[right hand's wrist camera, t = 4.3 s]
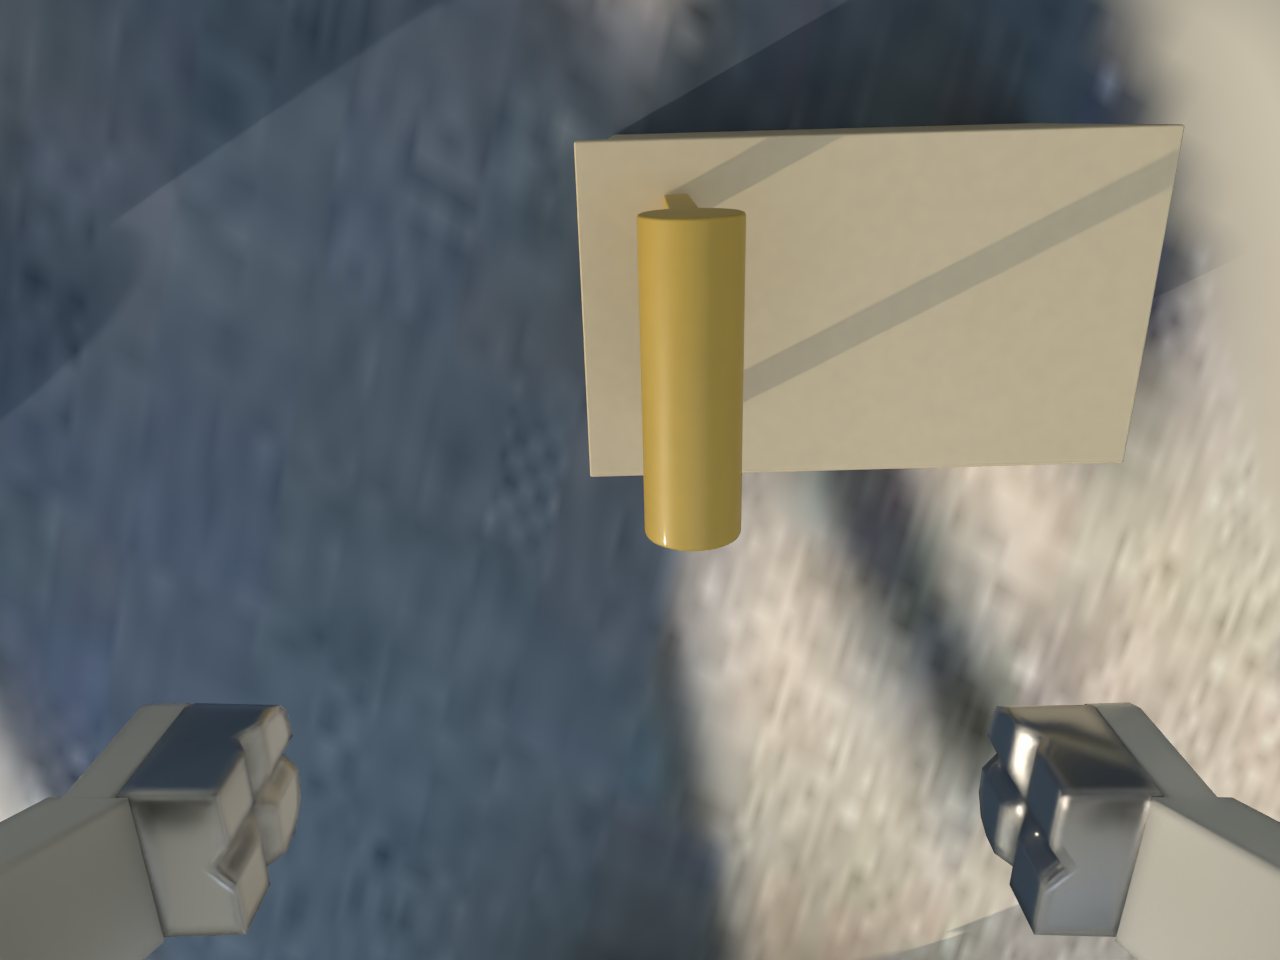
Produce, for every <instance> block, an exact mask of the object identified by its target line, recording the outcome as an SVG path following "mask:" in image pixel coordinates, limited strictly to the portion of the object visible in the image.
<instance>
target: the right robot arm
mask: <svg viewBox="0 0 1280 960" xmlns="http://www.w3.org/2000/svg"><path fill="white" fill-rule="evenodd" d="M291 738H292V732H291V727H290V722H289V718H288V713H287V711H286V710H285V709H283V708H282V707H281V706H280V705H254V704H207V703H195V704H190V703H151V704H148V705H146V706H143V707H140V708H139V709H138V710H137V712H136V713H135V714H134V715H133V716H132V717H131V719H130V720H129V721H128V722H127V723H126V724H125V726H124V727H123V728H122V729H121V730H120V731H119V732H118V734H117V735H116V736H115V737H114V738H113V739H112V741H111V742H110V743H109V744H108V745H107V746H106V748H105V749H104V750H103V751H102V752H101V753H100V755H99V756H98V757H97V758H96V759H95V760H94V761H93V763H92V764H91V765H90V766H89V767H88V768H87V770H86V771H85V772H84V773H83V774H82V775H81V777H80V778H79V779H78V780H77V781H76V782H75V784H74V785H73V786H72V787H71V788H70V789H69V790H68V792H67V793H66V794H65V795H64V796H63V797H60V798H46V799H44V800H42V801H41V802H39V803H37V804H35V805H33V806H31V807H29V808H27V809H25V810H23V811H21V812H19V813H17V814H15V815H13V816H12V817H10V818H8V819H6V820H4V821H2V822H0V960H143V959H144V958H145V957H147V956H148V955H149V954H150V953H151V952H152V951H154V950H155V949H156V948H157V947H158V946H159V945H161V944H162V943H163V942H164V937H172V936H206V935H241V934H246V933H247V931H248V929H249V927H250V925H251V923H252V921H253V919H254V917H255V915H256V913H257V911H258V909H259V907H260V905H261V903H262V901H263V898H264V896H265V894H266V892H267V890H268V888H269V886H270V880H269V874H268V869H267V866H268V865H270V864H271V863H272V862H274V861H275V860H277V859H278V858H279V857H281V856H282V855H283V854H285V853H286V851H287V849H288V847H289V844H290V842H291V840H292V838H293V836H294V834H295V830H296V825H297V821H298V816H299V811H300V804H301V785H300V779H299V772H298V768H297V767H296V766H295V765H294V764H293V763H292V762H291V761H290V760H289V759H288V758H287V757H286V756H285V755H284V754H283V752H284V750H285V748H286V747H287V745H288V743H289V741H290V739H291ZM988 738H989V739H990V741H991V743H992V745H993V747H994V748H995V750H996V752H997V754H996V755H995V756H994V757H993V758H992V759H991V760H990V761H989V762H988V763H987V764H986V765H985V766H984V767H983V768H982V773H981V781H980V788H979V799H980V811H981V819H982V822H983V826H984V829H985V833H986V836H987V838H988V840H989V842H990V845H991V847H992V849H993V851H994V853H995V854H997V855H998V856H999V857H1001V858H1002V859H1003V860H1005V861H1006V862H1008V863H1009V864H1010V865H1012V866H1013V869H1012V874H1011V880H1010V886H1011V888H1012V890H1013V892H1014V894H1015V896H1016V898H1017V900H1018V902H1019V904H1020V907H1021V909H1022V911H1023V913H1024V915H1025V917H1026V919H1027V921H1028V923H1029V925H1030V927H1031V929H1032V931H1033V933H1034V934H1037V935H1072V936H1108V937H1116V940H1115V941H1116V942H1118V943H1119V944H1120V945H1121V946H1122V947H1123V948H1125V949H1126V950H1127V951H1128V952H1129V953H1130V954H1132V955H1133V956H1134V957H1135V958H1136V959H1137V960H1280V822H1278V821H1276V820H1274V819H1272V818H1270V817H1268V816H1266V815H1265V814H1263V813H1261V812H1259V811H1257V810H1255V809H1253V808H1251V807H1249V806H1247V805H1245V804H1243V803H1241V802H1239V801H1238V800H1236V799H1234V798H1220V797H1217V796H1216V795H1215V794H1214V793H1213V792H1212V790H1211V789H1210V788H1209V787H1208V786H1207V785H1206V784H1205V782H1204V781H1203V780H1202V779H1201V778H1200V777H1199V775H1198V774H1197V773H1196V772H1195V771H1194V770H1193V768H1192V767H1191V766H1190V765H1189V764H1188V763H1187V762H1186V760H1185V759H1184V758H1183V757H1182V756H1181V755H1180V753H1179V752H1178V751H1177V750H1176V749H1175V748H1174V746H1173V745H1172V744H1171V743H1170V742H1169V741H1168V740H1167V738H1166V737H1165V736H1164V735H1163V734H1162V733H1161V731H1160V730H1159V729H1158V728H1157V727H1156V726H1155V724H1154V723H1153V722H1152V721H1151V720H1150V719H1149V717H1148V716H1147V715H1146V714H1145V713H1144V712H1143V711H1142V709H1141V708H1139V707H1137V706H1135V705H1133V704H1131V703H1098V704H1085V705H1048V706H997V707H996V709H995V711H994V713H993V715H992V717H991V721H990V726H989V731H988Z"/></svg>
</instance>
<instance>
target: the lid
mask: <svg viewBox="0 0 1280 960" xmlns="http://www.w3.org/2000/svg"><path fill="white" fill-rule="evenodd" d="M1183 132H1184V125H1180V124H1155V125H1119V126H1083V127H1047V128H1011V129H975V130H939V131H903V132H867V133H831V134H795V135H759V136H723V137H687V138H651V139H615V140H579V141H576V142H574V154H575V174H576V194H577V215H578V235H579V255H580V275H581V295H582V316H583V336H584V356H585V376H586V396H587V417H588V437H589V457H590V475H591V476H592V477H597V476H634V475H644V511H645V532H646V534H647V536H648V538H649V539H650V540H651V541H653V542H654V543H656V544H658V545H660V546H663V547H666V548H670V549H675V550H682V551H704V550H711V549H716V548H720V547H723V546H726V545H728V544H730V543H732V542H733V541H734V540H736V539H737V538H738V536H739V534H740V532H741V495H742V473H746V472H784V471H821V470H859V469H896V468H933V467H971V466H1008V465H1046V464H1083V463H1120V462H1123V460H1124V454H1125V449H1126V443H1127V438H1128V432H1129V427H1130V422H1131V416H1132V411H1133V405H1134V400H1135V394H1136V389H1137V383H1138V378H1139V372H1140V367H1141V361H1142V356H1143V350H1144V345H1145V339H1146V334H1147V328H1148V323H1149V318H1150V312H1151V307H1152V301H1153V296H1154V290H1155V285H1156V279H1157V274H1158V268H1159V263H1160V257H1161V252H1162V246H1163V241H1164V235H1165V230H1166V225H1167V219H1168V214H1169V208H1170V203H1171V197H1172V192H1173V186H1174V181H1175V175H1176V170H1177V164H1178V159H1179V153H1180V148H1181V142H1182V137H1183Z"/></svg>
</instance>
